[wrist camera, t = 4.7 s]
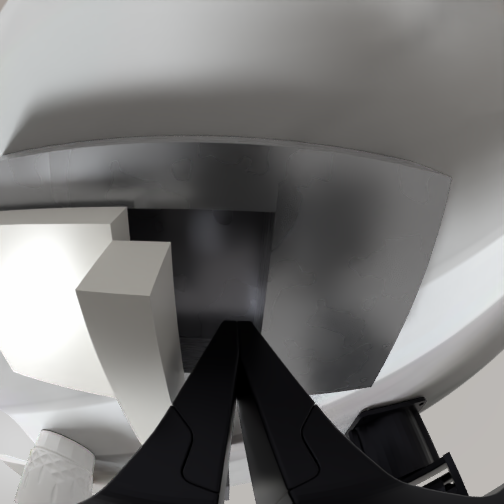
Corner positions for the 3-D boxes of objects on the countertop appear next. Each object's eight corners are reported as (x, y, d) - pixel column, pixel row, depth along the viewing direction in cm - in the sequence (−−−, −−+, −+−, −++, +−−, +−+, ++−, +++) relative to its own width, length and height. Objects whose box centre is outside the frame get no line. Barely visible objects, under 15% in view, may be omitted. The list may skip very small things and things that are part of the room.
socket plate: (412, 161, 10) (451, 177, 7) (355, 351, 14) (371, 386, 12) (1, 155, 8) (-37, 170, 6) (48, 338, 12) (31, 369, 10)
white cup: (27, 416, 17) (2, 494, 8) (97, 446, 19) (82, 532, 10) (44, 444, 21) (28, 508, 12) (103, 467, 22) (93, 535, 13)
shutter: (179, 207, 7) (146, 273, 4) (191, 381, 10) (186, 454, 7) (-29, 213, 6) (-85, 254, 3) (23, 353, 9) (-4, 404, 6)
